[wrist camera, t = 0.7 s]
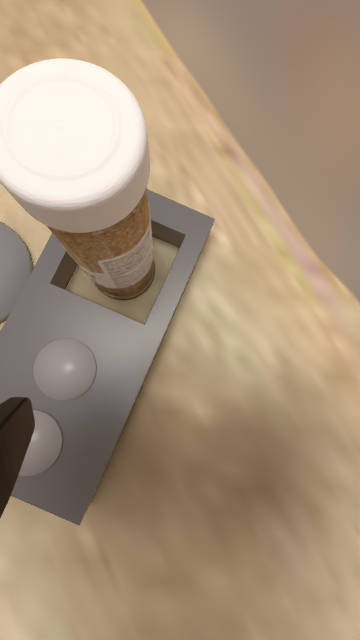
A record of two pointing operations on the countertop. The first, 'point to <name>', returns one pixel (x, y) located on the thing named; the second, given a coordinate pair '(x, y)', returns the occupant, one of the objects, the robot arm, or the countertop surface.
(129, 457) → the countertop surface
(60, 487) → the grey domed holder tray
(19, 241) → the slate coaster
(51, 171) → the sprinkles bottle
